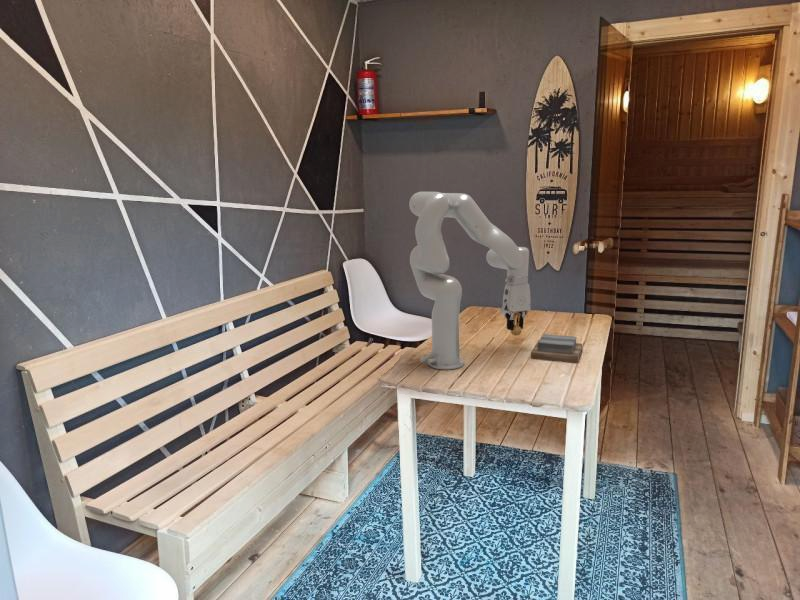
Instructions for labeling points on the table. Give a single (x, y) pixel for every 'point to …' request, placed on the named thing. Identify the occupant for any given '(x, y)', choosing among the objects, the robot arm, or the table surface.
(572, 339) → the display stand
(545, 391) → the table surface
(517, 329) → the figurine
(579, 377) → the table surface
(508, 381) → the table surface
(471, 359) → the table surface
